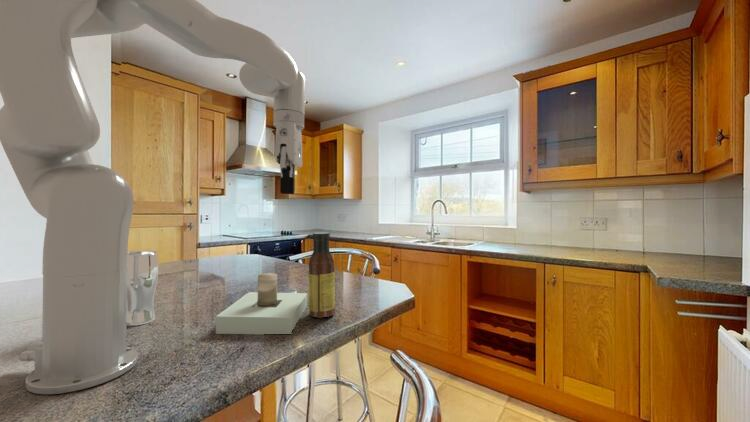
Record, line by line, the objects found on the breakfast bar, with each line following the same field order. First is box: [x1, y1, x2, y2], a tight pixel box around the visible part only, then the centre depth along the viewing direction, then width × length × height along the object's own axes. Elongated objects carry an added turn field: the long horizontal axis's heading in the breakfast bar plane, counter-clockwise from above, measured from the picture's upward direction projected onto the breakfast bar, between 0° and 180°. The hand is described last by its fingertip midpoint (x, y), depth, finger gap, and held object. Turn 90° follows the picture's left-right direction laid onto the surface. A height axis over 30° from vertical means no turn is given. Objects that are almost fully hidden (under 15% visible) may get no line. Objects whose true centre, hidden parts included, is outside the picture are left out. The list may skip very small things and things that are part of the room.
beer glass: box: [126, 250, 159, 327], centre depth 69 cm, size 7×7×15 cm
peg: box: [257, 272, 278, 307], centre depth 73 cm, size 4×4×10 cm
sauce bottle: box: [308, 231, 336, 319], centre depth 76 cm, size 6×6×20 cm
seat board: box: [215, 291, 308, 335], centre depth 73 cm, size 15×18×4 cm
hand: (287, 193), depth 81 cm, fingers closed
